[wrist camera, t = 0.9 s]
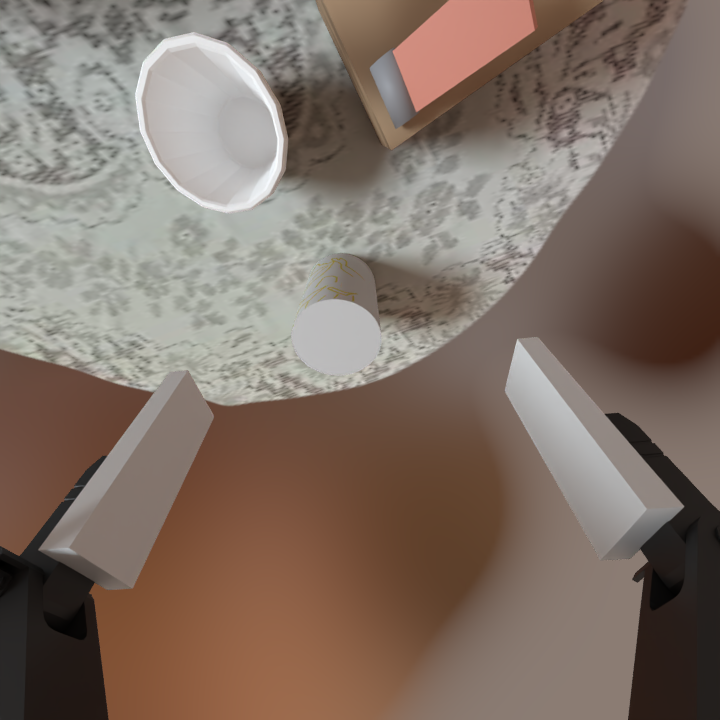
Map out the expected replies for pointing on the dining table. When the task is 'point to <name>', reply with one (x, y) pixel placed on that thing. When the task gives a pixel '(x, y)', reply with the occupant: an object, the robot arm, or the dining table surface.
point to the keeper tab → (448, 51)
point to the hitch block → (395, 24)
